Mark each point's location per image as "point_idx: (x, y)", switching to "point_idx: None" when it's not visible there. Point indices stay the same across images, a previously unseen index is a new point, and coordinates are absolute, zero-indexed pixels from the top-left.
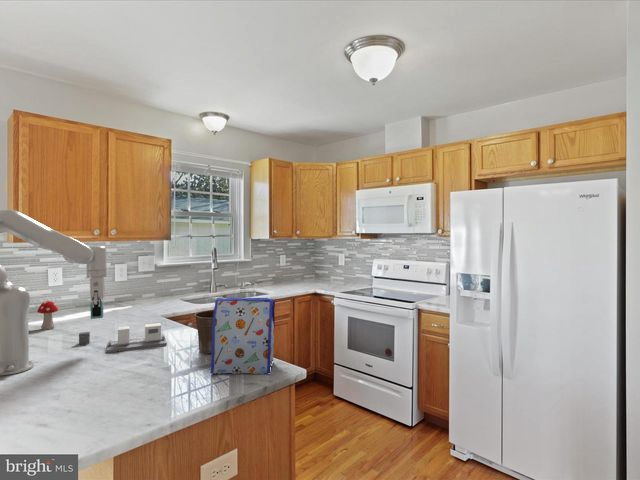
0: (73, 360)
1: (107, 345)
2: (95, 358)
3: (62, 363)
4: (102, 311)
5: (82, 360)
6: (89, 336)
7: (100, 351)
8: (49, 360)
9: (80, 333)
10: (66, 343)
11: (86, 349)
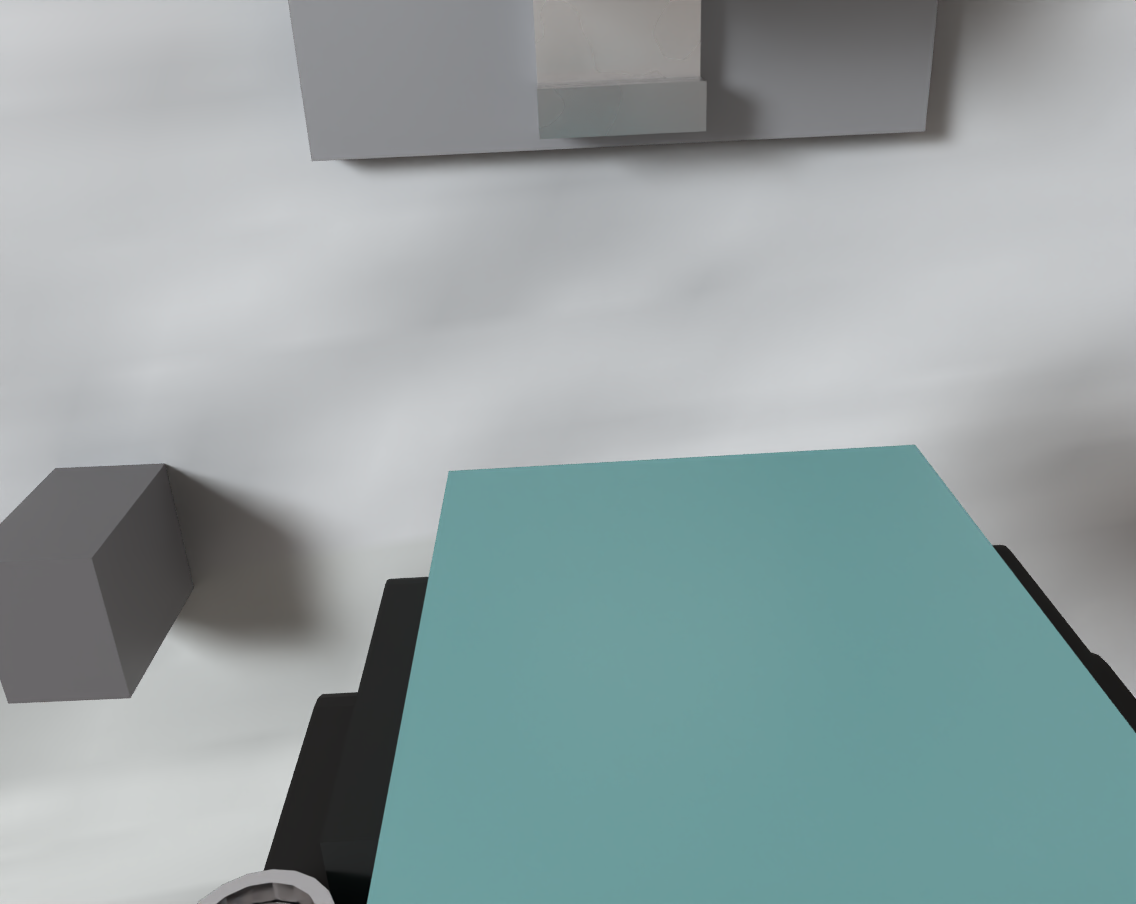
0: (1036, 522)
1: (583, 146)
2: (1129, 255)
3: (1094, 616)
4: (1009, 578)
5: (1115, 415)
6: (66, 521)
7: (744, 231)
8: None
9: (74, 685)
10: (51, 745)
11: (513, 451)
